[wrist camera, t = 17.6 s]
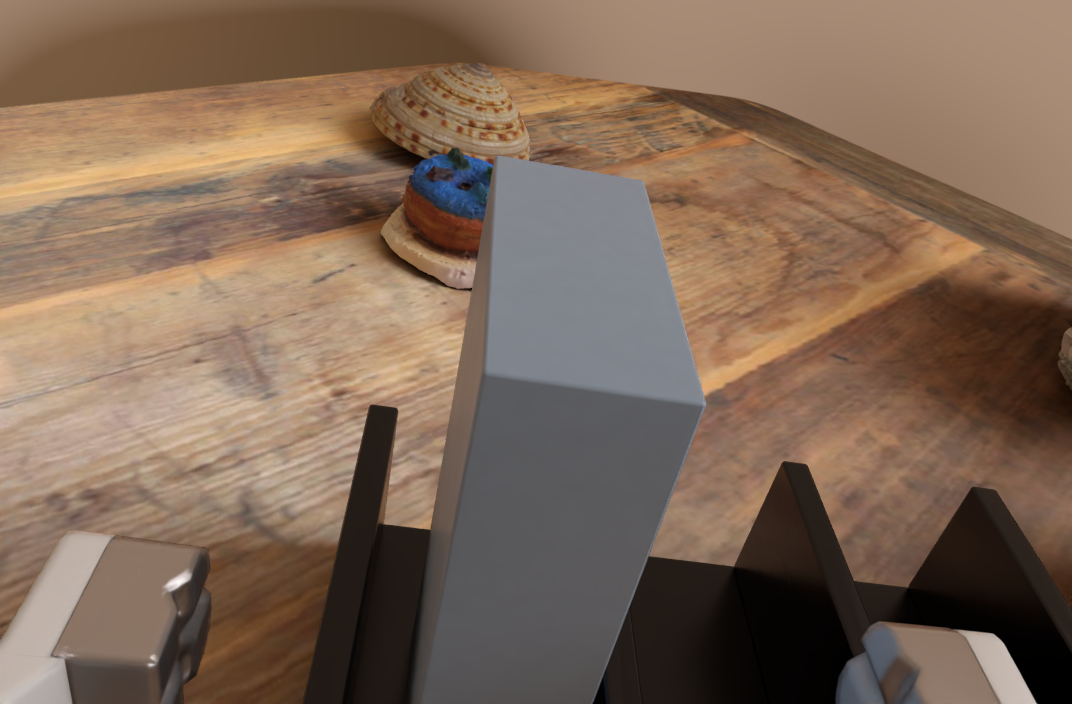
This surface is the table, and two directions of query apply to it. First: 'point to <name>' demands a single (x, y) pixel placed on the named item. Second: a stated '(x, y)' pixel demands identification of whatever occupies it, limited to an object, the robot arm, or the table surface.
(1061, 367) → the stone
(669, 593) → the rack
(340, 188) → the table surface
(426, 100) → the seashell
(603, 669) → the grey rectangular block
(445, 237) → the dessert
